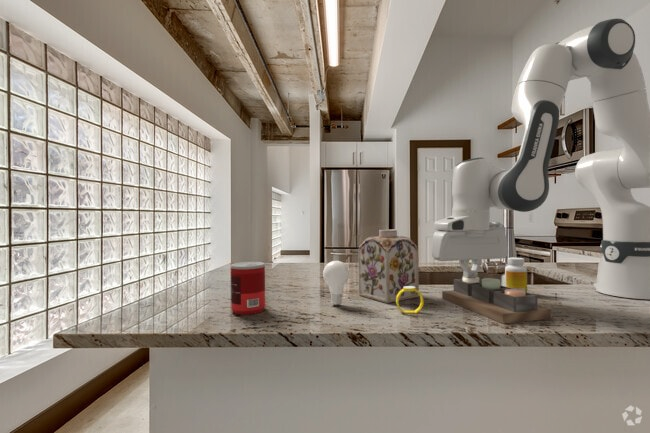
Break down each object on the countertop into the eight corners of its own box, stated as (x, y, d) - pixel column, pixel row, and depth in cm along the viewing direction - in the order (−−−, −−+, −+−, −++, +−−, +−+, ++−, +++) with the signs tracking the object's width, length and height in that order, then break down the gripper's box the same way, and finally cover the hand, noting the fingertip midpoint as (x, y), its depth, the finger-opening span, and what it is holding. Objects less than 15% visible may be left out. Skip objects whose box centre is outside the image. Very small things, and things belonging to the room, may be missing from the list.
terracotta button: (515, 302, 84) (515, 288, 83) (529, 306, 80) (529, 292, 80) (500, 303, 82) (500, 289, 82) (514, 308, 79) (514, 293, 79)
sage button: (492, 290, 91) (492, 277, 91) (504, 293, 87) (504, 280, 87) (478, 291, 90) (478, 278, 90) (489, 294, 86) (489, 281, 86)
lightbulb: (353, 303, 94) (352, 259, 93) (343, 310, 88) (343, 263, 88) (329, 301, 96) (329, 258, 96) (319, 307, 91) (318, 261, 90)
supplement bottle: (530, 296, 99) (530, 259, 99) (508, 295, 100) (508, 259, 100) (523, 292, 104) (523, 257, 104) (502, 291, 105) (502, 256, 105)
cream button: (472, 287, 98) (472, 275, 98) (482, 290, 94) (482, 278, 94) (459, 288, 97) (459, 276, 97) (468, 291, 93) (468, 279, 93)
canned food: (271, 307, 91) (270, 262, 91) (254, 316, 84) (253, 267, 83) (243, 305, 94) (242, 261, 93) (224, 313, 86) (224, 265, 86)
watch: (398, 315, 84) (396, 289, 84) (396, 312, 87) (394, 286, 86) (425, 313, 84) (423, 287, 84) (422, 310, 86) (420, 284, 86)
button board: (482, 295, 101) (481, 277, 100) (551, 318, 79) (551, 294, 79) (442, 298, 97) (442, 279, 97) (503, 323, 76) (503, 299, 76)
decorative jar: (420, 297, 99) (419, 229, 99) (387, 304, 93) (387, 231, 93) (388, 289, 109) (387, 227, 109) (357, 295, 103) (356, 229, 102)
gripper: (496, 221, 101) (496, 273, 101) (428, 222, 95) (428, 277, 96) (514, 222, 95) (513, 277, 95) (442, 223, 89) (442, 281, 90)
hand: (470, 277), depth 95 cm, fingers closed, pressing on cream button
